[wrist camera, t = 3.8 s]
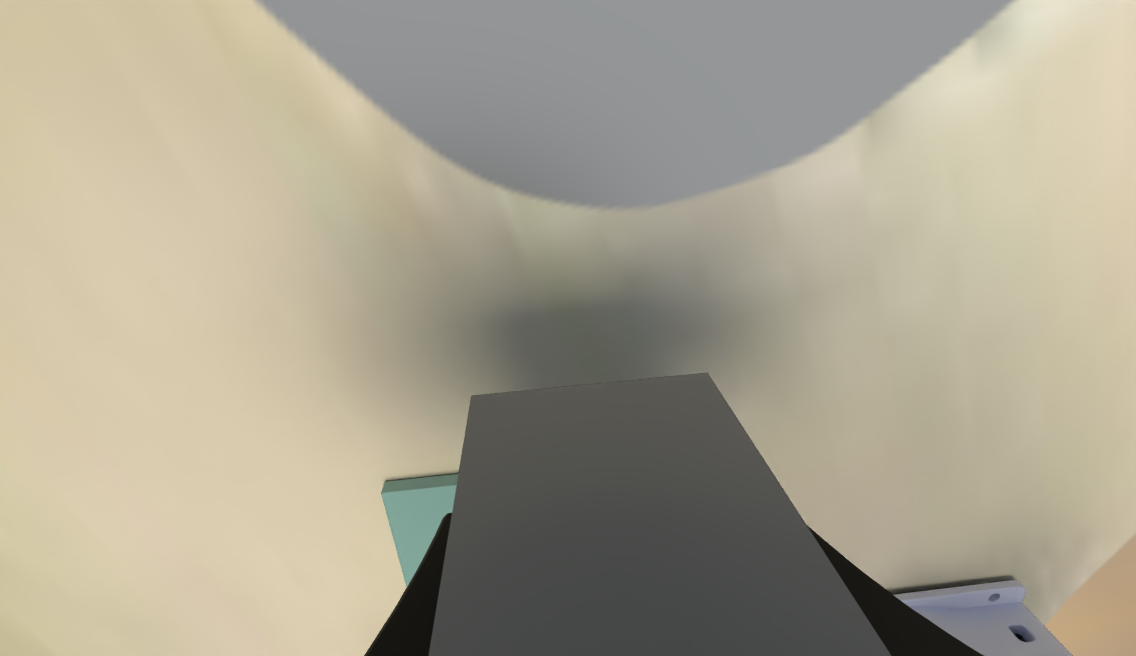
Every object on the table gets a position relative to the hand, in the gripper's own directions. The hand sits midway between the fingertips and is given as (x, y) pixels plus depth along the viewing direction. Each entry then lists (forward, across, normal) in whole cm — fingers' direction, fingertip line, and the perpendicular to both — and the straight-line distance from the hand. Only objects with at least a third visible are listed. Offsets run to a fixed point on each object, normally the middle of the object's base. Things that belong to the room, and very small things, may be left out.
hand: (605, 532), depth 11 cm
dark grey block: (+2, 0, 0) cm, 2 cm away
